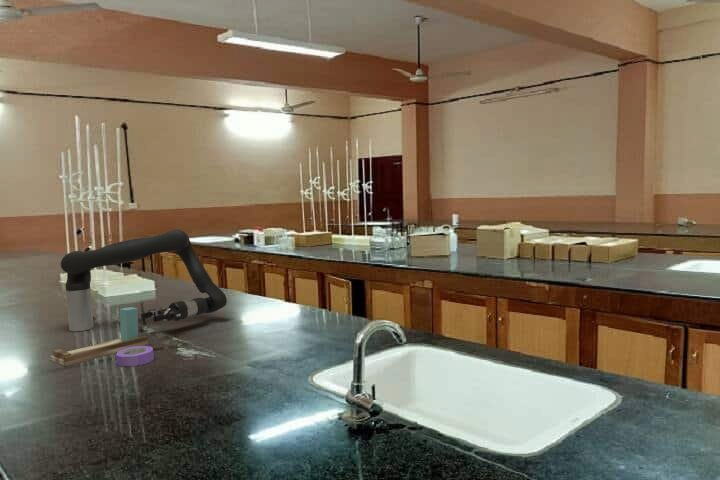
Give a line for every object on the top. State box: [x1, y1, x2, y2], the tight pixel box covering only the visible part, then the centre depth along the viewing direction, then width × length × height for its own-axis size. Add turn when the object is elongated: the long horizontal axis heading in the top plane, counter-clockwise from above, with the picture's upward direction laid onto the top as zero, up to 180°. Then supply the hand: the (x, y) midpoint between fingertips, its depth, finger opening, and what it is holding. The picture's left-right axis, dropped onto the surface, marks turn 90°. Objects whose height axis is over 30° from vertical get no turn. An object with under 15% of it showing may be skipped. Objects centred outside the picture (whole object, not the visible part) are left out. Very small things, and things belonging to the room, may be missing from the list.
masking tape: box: [115, 345, 155, 367], centre depth 184 cm, size 12×12×4 cm
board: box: [49, 335, 149, 367], centre depth 195 cm, size 12×30×4 cm, turn 143°
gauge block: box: [119, 306, 139, 341], centre depth 204 cm, size 4×4×12 cm
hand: (147, 317), depth 210 cm, fingers open, 8 cm apart
